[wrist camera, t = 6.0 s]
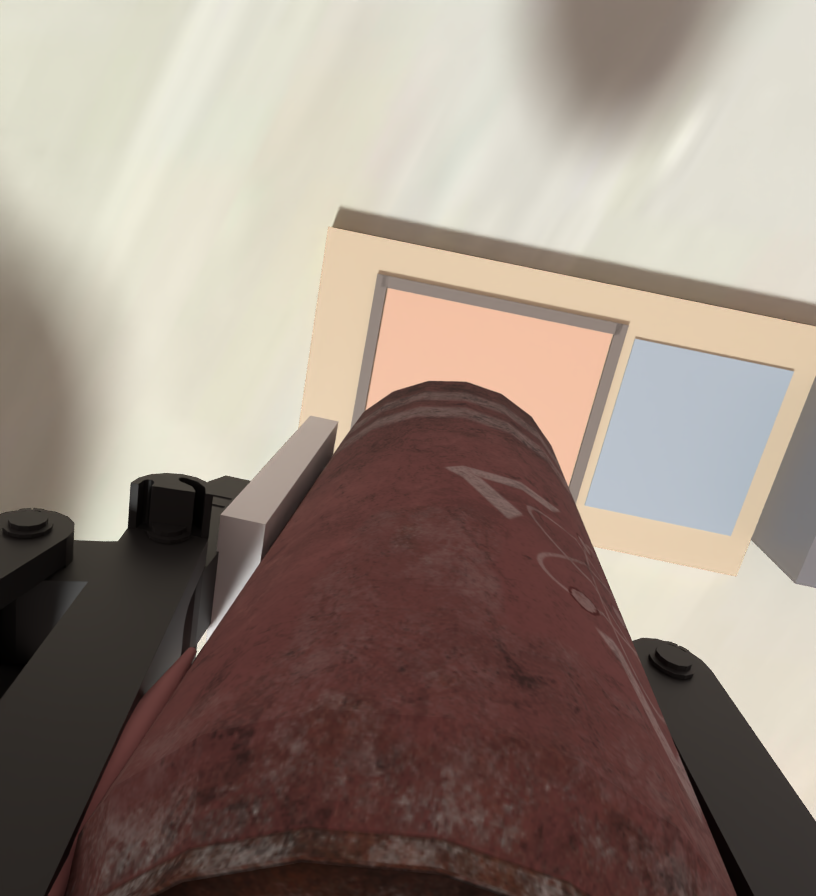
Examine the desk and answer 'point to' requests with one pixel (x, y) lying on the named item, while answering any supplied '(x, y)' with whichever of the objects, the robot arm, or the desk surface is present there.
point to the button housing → (793, 504)
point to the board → (578, 383)
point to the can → (408, 697)
